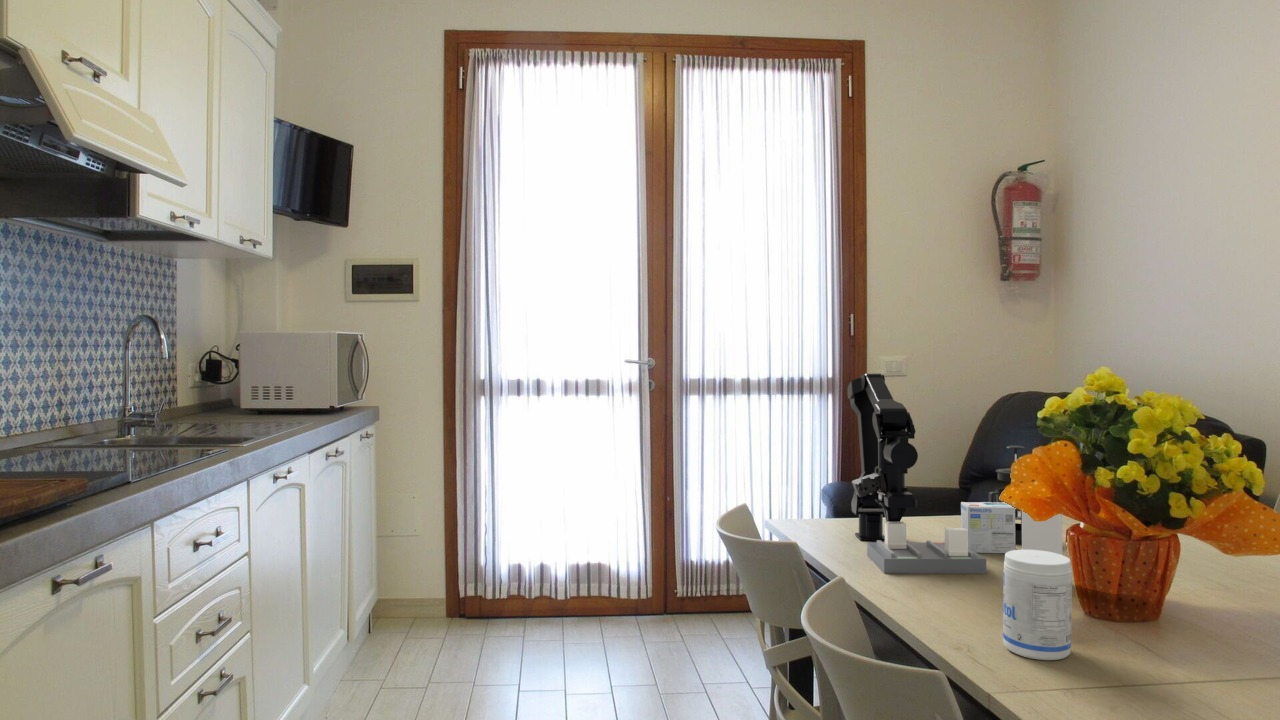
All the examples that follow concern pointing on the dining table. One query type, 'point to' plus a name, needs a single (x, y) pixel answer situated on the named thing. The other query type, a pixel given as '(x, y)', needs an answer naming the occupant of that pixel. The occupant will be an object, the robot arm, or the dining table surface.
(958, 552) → the tall cream cuboid
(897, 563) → the breaker panel
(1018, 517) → the french press
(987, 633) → the dining table surface
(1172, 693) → the dining table surface
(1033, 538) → the off-white cardboard box
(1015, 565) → the supplement tub
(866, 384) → the robot arm
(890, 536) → the white block
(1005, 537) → the light bulb box
